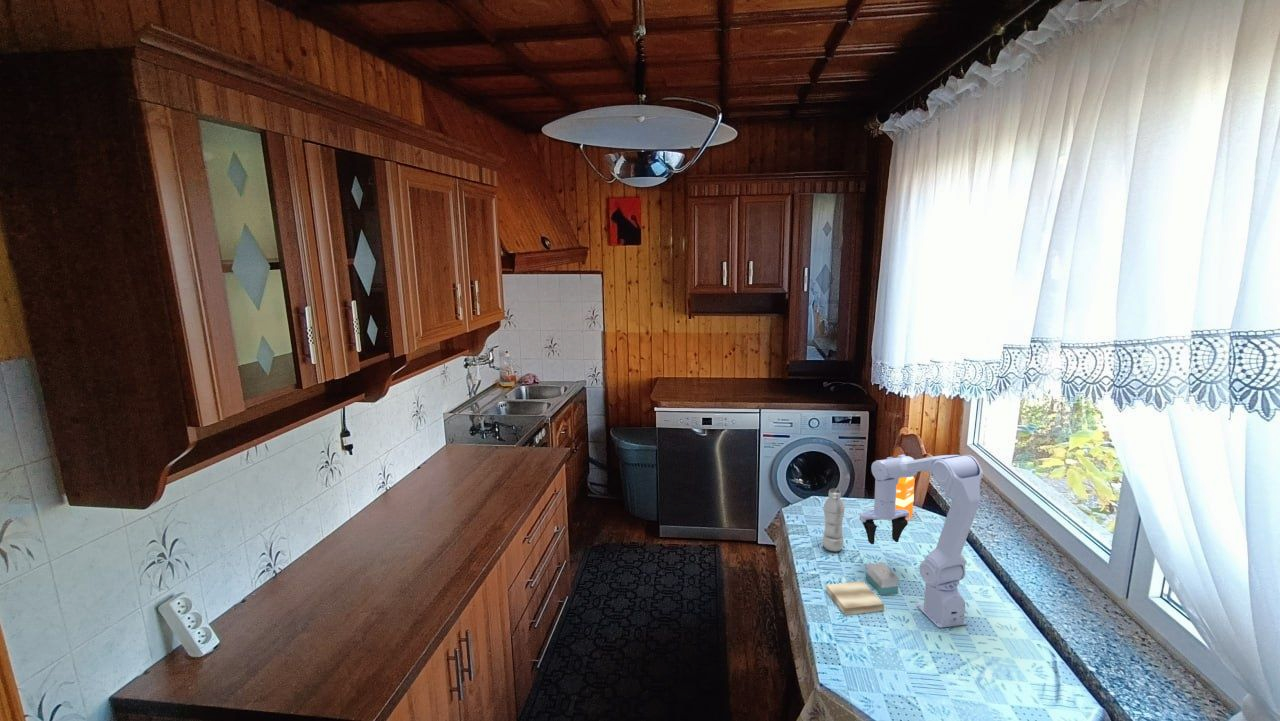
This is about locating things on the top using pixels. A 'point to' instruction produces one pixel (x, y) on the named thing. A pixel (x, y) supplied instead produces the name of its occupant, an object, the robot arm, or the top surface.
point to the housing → (882, 579)
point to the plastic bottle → (833, 521)
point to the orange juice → (905, 495)
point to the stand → (854, 598)
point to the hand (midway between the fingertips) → (883, 541)
